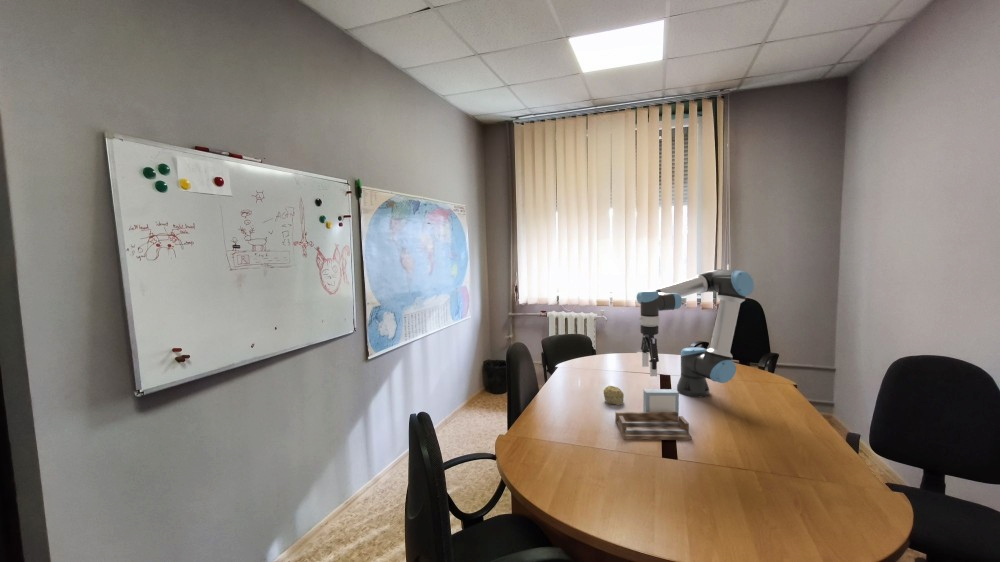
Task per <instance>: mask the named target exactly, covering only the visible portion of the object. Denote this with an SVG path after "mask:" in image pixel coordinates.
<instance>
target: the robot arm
mask: <svg viewBox="0 0 1000 562" xmlns="http://www.w3.org/2000/svg"><path fill="white" fill-rule="evenodd" d="M754 288H755V281H754V278H753V277H752V275H751V274H750V273H749V272H747V271H743V270H738V269H736V270H735V269H713V270H709V271H705V272H701V273H698V274H695V275H694V276H693V277H692V278H689V279H685V280H681V281H678V282H674V283H671V284H668V285H664V286H660V287H657V288H653V289H641V290H639V292H637V294H636V302H637V303H638V304H639V305H640V317H639V318H638V319H639V320H640V324H641V325H640V333H641V334H642V338H641V346H640V350H641V367H646V368H647V367H649V376H650V377H658V362H659V361H660V360H659V353H658V346H657V344H658V343H657V338H655V336H656V335H658V334H659V324H660V323H659V321H660V318H659V315H660V313H659V312H662V311H674V310H675V311H676V310H679V309H680V308H681V307H682V306H683V299H682V298H683V297H685V296H690V295H693V294H697V293H699V294H704V293H717V297H718V299H719V304H718V308H717V312H716V316H715V322H714V326H713V327H714V328H713V331H712V336H711V341H710V346H709V348H707V349H706V348H704V347H693V346H692V347H685V348H682V350H681V352H680V377H679V379H678V382H677V385H676V390H677V391H678V392H679V394H681V395H683V396H688V397H693V398H694V397H695V398H705V397H708V396H709V395H710V386H709V384H708V382H707V379H708V380H711V381H712V382H715V383H719V384H726V383H728V382H730V381H731V380H732V379H734V377H735V375H736V372H737V365H736V363H735V362H734V361H733V354H732V353H731V349H732V344H733V339H734V336H735V331H736V327H737V321H738V316H739V312H740V307H741V304H742V303H743V302H745V301H746V297H748V296H750V295H752V293H753V291H754ZM649 358H650V359H649Z"/></svg>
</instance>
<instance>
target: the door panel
mask: <svg viewBox="0 0 1000 562" xmlns="http://www.w3.org/2000/svg"><path fill="white" fill-rule="evenodd" d="M642 396H643V403H642V405H643V406H642V407H643V408H642V409H643V410H642V412H677V413H678V420H679V416H680V414H679V409H680V407H679V405H680V399H679V397H680V393H679V392H678V391H677V388H676V389H675V388H672V389H671V388H669V389H668V388H661V389H660V388H656V389H655V388H652V389H650V388H648V389H647V388H643V395H642Z"/></svg>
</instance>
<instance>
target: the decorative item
mask: <svg viewBox="0 0 1000 562" xmlns="http://www.w3.org/2000/svg"><path fill="white" fill-rule="evenodd" d="M624 395H625V394H624V392H623V391H622V389H620V388H619V387H617V386H614V385H608V386H606V387H605V388H604V389H603V397H604V400H605V402H606V403H607V404H608V405H616V406H621V405H622V404H624V398H625V396H624Z"/></svg>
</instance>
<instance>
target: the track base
mask: <svg viewBox="0 0 1000 562" xmlns="http://www.w3.org/2000/svg"><path fill="white" fill-rule="evenodd" d="M614 417H615V418H614V419H615V424H616V426H617V428H618V430H619V432H620V434H621V436H622V438H623V440H638V439H639V440H641V439H661V440H660V441H662V440H663V441H665V440H666V441H692V437H693V436H692V435H691V434H690V430H689V429H690V423H689V422H688V421H687V419H685V418H684V416H682V415H679V419H678V413H677V412H643V411H615V416H614Z"/></svg>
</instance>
